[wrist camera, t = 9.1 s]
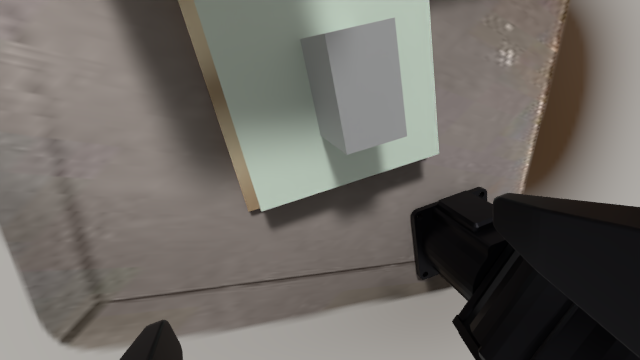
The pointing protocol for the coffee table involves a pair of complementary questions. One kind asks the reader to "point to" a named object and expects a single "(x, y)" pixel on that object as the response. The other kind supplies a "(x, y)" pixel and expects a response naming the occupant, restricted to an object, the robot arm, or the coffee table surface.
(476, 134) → the coffee table surface
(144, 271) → the coffee table surface
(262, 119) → the lid
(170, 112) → the coffee table surface
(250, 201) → the cork mat
